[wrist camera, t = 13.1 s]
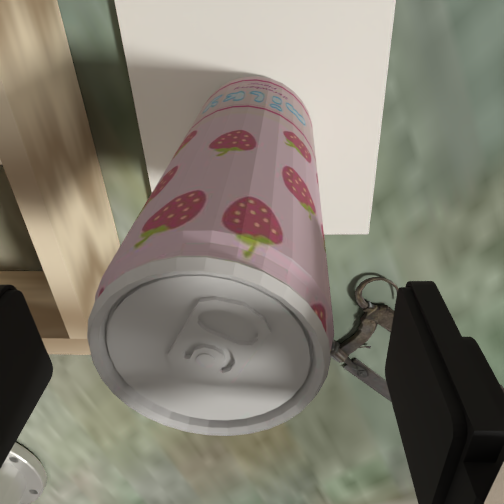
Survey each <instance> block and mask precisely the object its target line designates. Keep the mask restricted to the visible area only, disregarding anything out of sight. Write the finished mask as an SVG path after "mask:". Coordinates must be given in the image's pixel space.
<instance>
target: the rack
mask: <svg viewBox="0 0 504 504" xmlns="http://www.w3.org/2000/svg"><path fill="white" fill-rule="evenodd" d="M0 160H1V162H2V165H3V167H4V170H5V173H6V175H7V178H8V180H9V183H10V185H11V188H12V191H13V193H14V196H15V198H16V201H17V203H18V206H19V209H20V211H21V214H22V216H23V219H24V221H25V224H26V227H27V229H28V232H29V234H30V237H31V240H32V242H33V245H34V247H35V250H36V252H37V255H38V258H39V260H40V263H41V265H42V268H43V270H44V271H0V285H13V286H14V287H16V289H17V290H19V291H21V292H22V293H23V295H24V297H25V300H26V302H27V305H28V307H29V309H30V312H31V314H32V317H33V319H34V322H35V324H36V326H37V329H38V331H39V334H40V336H41V338H42V341H43V343H44V346H45V348H46V350H47V353H48V354H75V355H91V352H90V348H89V343H88V339H87V331H88V319H89V316H90V313H91V311H92V308H93V306H94V303H95V294H96V292H97V289H98V287H99V284H100V281H101V279H102V276H103V275H104V273H105V271H106V270H107V268H108V266H109V264H110V263H111V261H112V259H113V258H114V256H115V254H116V253H117V251H118V249H119V248H120V243H119V239H118V235H117V231H116V227H115V223H114V220H113V216H112V212H111V208H110V204H109V200H108V196H107V192H106V188H105V185H104V181H103V177H102V173H101V169H100V165H99V161H98V157H97V154H96V150H95V146H94V142H93V138H92V134H91V130H90V126H89V122H88V119H87V115H86V111H85V107H84V103H83V99H82V95H81V91H80V88H79V84H78V80H77V76H76V72H75V68H74V64H73V60H72V56H71V53H70V49H69V45H68V41H67V37H66V33H65V29H64V25H63V21H62V18H61V14H60V10H59V6H58V2H57V0H0Z"/></svg>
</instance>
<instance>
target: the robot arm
mask: <svg viewBox="0 0 504 504" xmlns="http://www.w3.org/2000/svg"><path fill="white" fill-rule="evenodd" d="M52 373H53V366H52V363H51V360H50V358H49V355H48V353H47V350H46V348H45V346H44V343H43V341H42V338H41V336H40V334H39V331H38V329H37V326H36V324H35V322H34V319H33V317H32V314H31V312H30V309H29V307H28V305H27V302H26V300H25V297H24V295H23V293H22V292H21V291H19V290H17V289H16V287H14V286H13V285H0V504H30V503H32V502H33V501H35V500H37V499H38V498H39V497H40V496H41V494H42V492H43V490H44V488H45V486H46V483H47V474H46V471H45V469H44V467H43V465H42V464H41V462H40V461H39V460H38V459H37V458H36V457H35V456H34V455H33V454H32V453H31V452H29V451H28V450H27V449H26V448H24V447H22V446H21V445H19V444H18V443H16V440H17V438H18V436H19V435H20V433H21V431H22V429H23V427H24V426H25V424H26V422H27V420H28V419H29V417H30V415H31V413H32V411H33V410H34V408H35V406H36V404H37V402H38V401H39V399H40V397H41V395H42V394H43V392H44V390H45V388H46V386H47V385H48V383H49V381H50V379H51V377H52ZM385 376H386V382H387V386H388V390H389V393H390V397H391V401H392V405H393V409H394V412H395V416H396V420H397V424H398V428H399V431H400V435H401V439H402V443H403V447H404V450H405V454H406V458H407V462H408V465H409V469H410V473H411V477H412V481H413V484H414V488H415V492H416V496H417V500H418V503H419V504H504V392H503V390H502V388H501V386H500V384H499V382H498V381H497V379H496V377H495V375H494V373H493V371H492V369H491V367H490V366H489V364H488V362H487V360H486V358H485V356H484V354H483V353H482V351H481V349H480V347H479V345H478V344H477V342H476V341H475V339H473V338H472V337H462V336H461V334H460V332H459V330H458V328H457V326H456V324H455V322H454V320H453V318H452V316H451V314H450V312H449V310H448V308H447V306H446V304H445V302H444V300H443V298H442V296H441V294H440V292H439V290H438V288H437V286H436V284H435V283H434V282H433V281H409V282H407V284H406V287H401V288H399V289H398V292H397V298H396V304H395V310H394V317H393V323H392V329H391V335H390V341H389V347H388V353H387V359H386V365H385Z"/></svg>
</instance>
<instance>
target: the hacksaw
mask: <svg viewBox="0 0 504 504" xmlns="http://www.w3.org/2000/svg"><path fill="white" fill-rule="evenodd" d="M375 280H384V281H386V282H388V283H390V284H392V285H393V286H394V287H395V288H396V290H397V292H398V287H397V286H396V285H395V284H394V283H393V282H392V281H390V280H388V279H385V278H383V277H373V278H369V279H366V280H364V281H363V282H361V284H360V285H359V286H358V287H357V289H356V291H355V298H356V302H357V303H358V304H359V306H360V307H361V308H362V309H363V311H365V314H364V315H363V316H362V317H361V318H360V320H361V324H360V326H359V330H358V331H357V332H356V333H355V334H354V335H353V336H351V337H350V338H349V339H347V340H346V341H344V342H343V343H341V344H340V343H339V342H338V341H334V339H333V342H332V347H331V352H330V356H331V357H332V358H333V359H334V360H336V361H338V362H345V363H346V364H347V365H346V366H344V367H343V368H345V369H347V371H349V372H350V373H352V374H353V375H354V376H356V377H358V379H360V380H362V381H364V383H366V384H367V385H369V386H370V387H371V388H373V389H375V390H376V392H378V393H380V394H382V395H383V396H384V397H385V398H387V399H389V400H390V401H391V397H390V393H389V390H388V386H387V382H386V380H384V379H383V378H382V377H380V376H379V375H378V374H376V373H375V372H374V371H372V370H371V369H370V368H368V367H367V366H366V365H365V364H363V363H362V362H360V361H359V360H358V359H356V358H355V359H354V360H351V359H350V358H349V357H348V356H349V354H351V353H352V352H354V351H355V350H356V349H357V348H363V347H360V346H361V345H363V344H364V343H365V342H366V341H368V339H369V338H370V337H371V335H372V334H373V333H374V331H375V329H376V327H377V324H379V325H381V326H382V327H384V328H385V329H387V330H388V331H390V332H391V329H392V323H393V317H394V311H393V310H392V309H391V308H390V307H388V305H380V306H378V305H374V304H371V303H370V301H368V302H367V303H366V301H365V300H364V298H363V297H362V290H363V288H364V287H365V286H366V284H368V283H370V282H372V281H375ZM364 347H366V348H370V347H371V346H364ZM500 386H501V388H502V390H503V392H504V388H503V387H502V385H500ZM391 402H392V401H391Z"/></svg>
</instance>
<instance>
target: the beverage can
mask: <svg viewBox="0 0 504 504" xmlns="http://www.w3.org/2000/svg"><path fill="white" fill-rule="evenodd" d="M333 337H334V327H333V315H332V306H331V296H330V287H329V278H328V268H327V259H326V249H325V240H324V231H323V221H322V212H321V203H320V193H319V184H318V174H317V165H316V156H315V146H314V137H313V128H312V121H311V118H310V115H309V112H308V110H307V108H306V106H305V105H304V103H303V101H302V100H301V99H300V98H299V97H298V95H297V94H296V93H295V92H294V91H293V90H291V89H290V88H288V87H287V86H286V85H284V84H283V83H280V82H278V81H276V80H273V79H271V78H266V77H260V76H249V77H242V78H238V79H234V80H232V81H230V82H228V83H226V84H224V85H222V86H221V87H220V88H218V89H217V90H216V91H215V92H214V93H213V94H212V95H211V96H210V97H209V99H208V100H207V101H206V103H205V104H204V106H203V108H202V109H201V111H200V113H199V114H198V116H197V118H196V119H195V121H194V123H193V124H192V126H191V128H190V129H189V131H188V133H187V135H186V136H185V138H184V140H183V141H182V143H181V145H180V146H179V148H178V150H177V151H176V153H175V155H174V156H173V158H172V160H171V162H170V163H169V165H168V167H167V168H166V170H165V172H164V173H163V175H162V177H161V178H160V180H159V182H158V183H157V185H156V187H155V189H154V190H153V192H152V194H151V195H150V197H149V199H148V200H147V202H146V204H145V205H144V207H143V209H142V210H141V212H140V214H139V216H138V217H137V219H136V221H135V222H134V224H133V226H132V227H131V229H130V231H129V232H128V234H127V236H126V237H125V239H124V241H123V243H122V244H121V246H120V248H119V249H118V251H117V253H116V254H115V256H114V258H113V259H112V261H111V263H110V264H109V266H108V268H107V270H106V271H105V273H104V275H103V276H102V279H101V281H100V284H99V287H98V289H97V292H96V294H95V303H94V306H93V308H92V311H91V313H90V316H89V319H88V331H87V339H88V343H89V348H90V352H91V356H92V360H93V363H94V365H95V367H96V369H97V371H98V373H99V375H100V377H101V379H102V380H103V381H104V383H105V384H106V385H107V386H108V387H109V389H110V390H111V391H112V392H113V394H115V395H116V396H117V397H118V398H119V399H121V400H122V401H123V402H124V403H125V404H126V405H128V406H129V407H130V408H132V409H134V410H135V411H137V412H139V413H140V414H142V415H144V416H145V417H147V418H149V419H152V420H154V421H156V422H158V423H161V424H163V425H165V426H169V427H172V428H176V429H179V430H182V431H186V432H192V433H198V434H204V435H222V436H231V435H241V434H250V433H254V432H258V431H262V430H266V429H270V428H272V427H274V426H277V425H279V424H282V423H284V422H286V421H288V420H289V419H291V418H292V417H294V416H295V415H297V414H298V413H300V412H301V411H302V410H303V409H304V408H305V407H306V406H307V405H308V404H309V403H310V402H311V401H312V400H313V399H314V397H315V396H316V395H317V393H318V392H319V390H320V388H321V387H322V385H323V383H324V381H325V379H326V377H327V374H328V369H329V365H330V360H331V358H330V352H331V347H332V342H333Z"/></svg>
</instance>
